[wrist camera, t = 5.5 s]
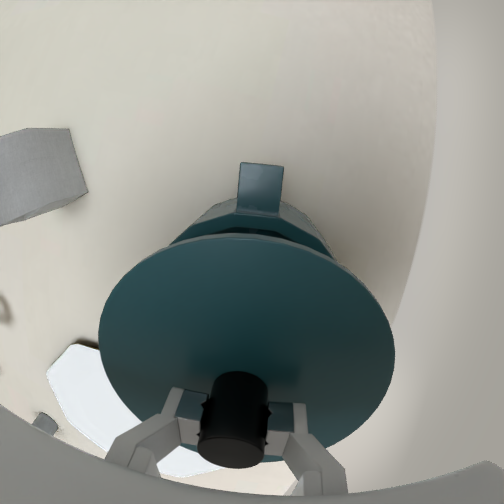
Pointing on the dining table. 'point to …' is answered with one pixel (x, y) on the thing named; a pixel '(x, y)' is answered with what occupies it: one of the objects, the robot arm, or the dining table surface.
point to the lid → (247, 340)
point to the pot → (259, 212)
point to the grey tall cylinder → (45, 424)
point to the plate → (106, 408)
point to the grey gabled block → (37, 173)
